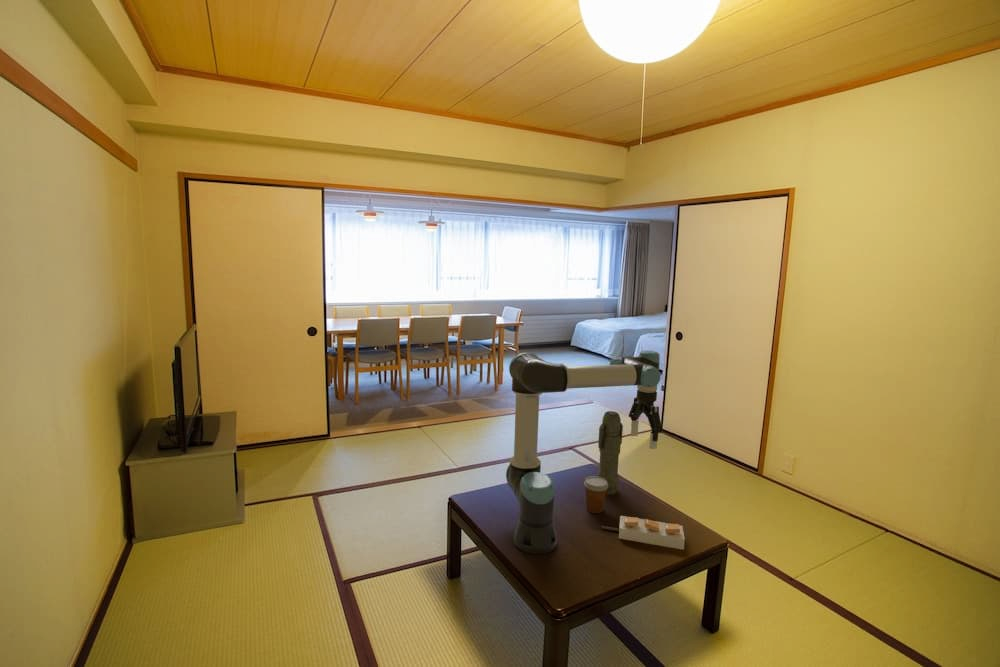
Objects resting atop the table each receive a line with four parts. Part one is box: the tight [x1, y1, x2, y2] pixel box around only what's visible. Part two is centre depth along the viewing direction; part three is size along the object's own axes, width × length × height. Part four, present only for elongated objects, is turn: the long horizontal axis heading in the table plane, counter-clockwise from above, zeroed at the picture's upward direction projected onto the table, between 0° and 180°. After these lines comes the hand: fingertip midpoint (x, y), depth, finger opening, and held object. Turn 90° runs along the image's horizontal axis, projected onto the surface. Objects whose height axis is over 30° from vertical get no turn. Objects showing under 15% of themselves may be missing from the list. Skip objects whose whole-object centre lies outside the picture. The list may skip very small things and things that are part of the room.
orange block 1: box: [624, 516, 639, 526], centre depth 171 cm, size 5×3×2 cm
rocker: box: [665, 523, 680, 533], centre depth 167 cm, size 5×3×2 cm
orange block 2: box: [644, 518, 659, 532], centre depth 169 cm, size 5×3×2 cm
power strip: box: [601, 515, 686, 550], centre depth 172 cm, size 28×9×5 cm, turn 74°
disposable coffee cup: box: [583, 475, 608, 514], centre depth 189 cm, size 10×10×12 cm
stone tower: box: [597, 410, 624, 496], centre depth 204 cm, size 9×12×35 cm
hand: (643, 441), depth 188 cm, fingers open, 13 cm apart
